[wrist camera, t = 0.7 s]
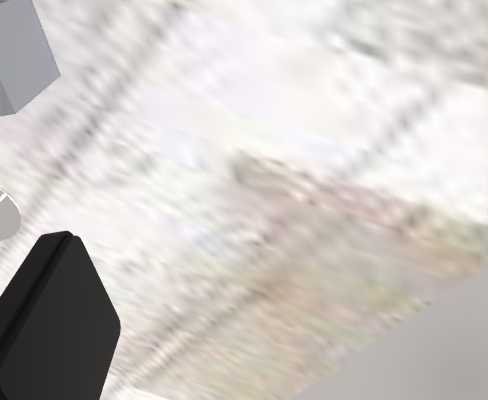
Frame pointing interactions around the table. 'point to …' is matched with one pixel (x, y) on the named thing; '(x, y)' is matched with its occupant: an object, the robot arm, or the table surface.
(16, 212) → the wineglass
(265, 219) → the table surface
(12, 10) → the housing
